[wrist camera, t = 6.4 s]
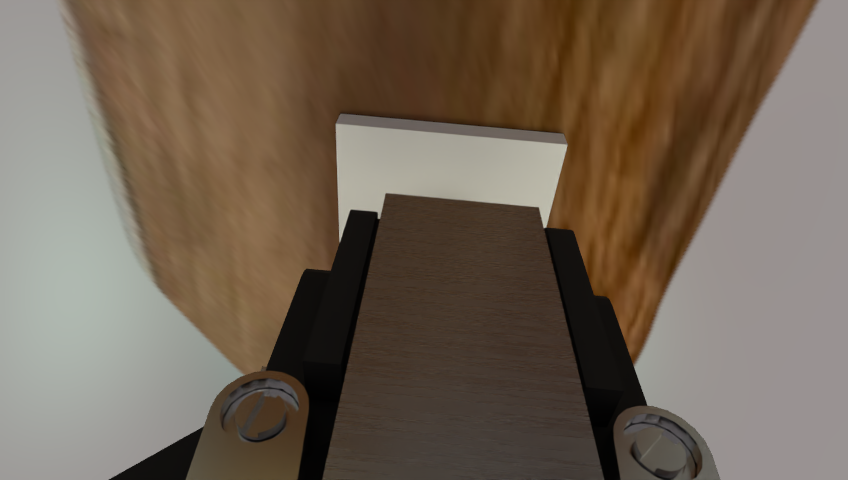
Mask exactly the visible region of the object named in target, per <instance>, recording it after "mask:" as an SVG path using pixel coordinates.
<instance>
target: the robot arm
mask: <svg viewBox="0 0 848 480" xmlns="http://www.w3.org/2000/svg"><path fill="white" fill-rule="evenodd" d="M379 221H380V219H378V212H374V211H363V210H352V209H351V210H350V212H349V215H348V218H347V222H346V225H345V228H344V231H343V234H342V237H341V241H340V244H339V247H338V250H337V253H336V256H335V260H334V263H333V266H332V269H331V271H325V270H315V269H306V270H305V271H304V272H303V274H302V276H301V279H300V282H299V284H298V287H297V289H296V292H295V295H294V297H293V300H292V302H291V305H290V308H289V310H288V313H287V316H286V318H285V321H284V323H283V326H282V329H281V331H280V334H279V336H278V339H277V342H276V344H275V347H274V349H273V352H272V355H271V357H270V360H269V363H268V365H267V368H266V370H265V371H260V372H254V373H251V374H248V375H245V376H242V377H240V378H238V379H236V380H235V381H233V382H231V383H230V384H228V385H227V386H226V387H225V388H224V389H223V390H222V391H221V392H220V393H219V394H218V395H217V397H216V398H215V401H214V402H213V404H212V406H211V408H210V411H209V413H208V416H207V419H206V422H205V425H204V427H202V428H200V429H199V430H197V431H195V432H193V433H191V434H190V435H188V436H186V437H184V438H182V439H181V440H179V441H177V442H175V443H173V444H172V445H170V446H168V447H166V448H164V449H163V450H161V451H159V452H157V453H156V454H154V455H152V456H150V457H148V458H147V459H145V460H143V461H141V462H140V463H138V464H136V465H134V466H132V467H131V468H129V469H127V470H125V471H124V472H122V473H120V474H118V475H117V476H115V477H113V478H111V479H109V480H322V478H323V474H324V469H325V465H326V460H327V456H328V451H329V447H330V442H331V438H332V433H333V429H334V424H335V420H336V415H337V411H338V406H339V402H340V397H341V393H342V388H343V384H344V379H345V374H346V370H347V365H348V361H349V356H350V352H351V347H352V343H353V338H354V334H355V329H356V325H357V320H358V316H359V311H360V307H361V302H362V298H363V293H364V289H365V284H366V280H367V275H368V271H369V266H370V262H371V257H372V253H373V248H374V244H375V239H376V235H377V230H378V226H379ZM544 231H545V235H546V239H547V243H548V248H549V252H550V256H551V260H552V264H553V268H554V273H555V277H556V281H557V285H558V289H559V293H560V298H561V302H562V306H563V310H564V314H565V319H566V323H567V327H568V331H569V335H570V339H571V344H572V348H573V352H574V356H575V360H576V364H577V369H578V373H579V377H580V381H581V385H582V389H583V394H584V398H585V402H586V406H587V410H588V414H589V419H590V423H591V427H592V431H593V435H594V440H595V444H596V448H597V452H598V456H599V460H600V465H601V469H602V473H603V477H604V480H720V477H719V474H718V472H717V468H716V465H715V462H714V459H713V456H712V454H711V452H710V450H709V448H708V446H707V444H706V442H705V440H704V439H703V438H702V437H701V436H700V434H699V433H698V432H697V431H696V429H695V428H693V427H692V426H691V425H690V424H688V423H687V422H686V421H685V420H683V419H682V418H680V417H679V416H677V415H675V414H673V413H671V412H669V411H667V410H664V409H661V408H657V407H654V406H647V403H646V400H645V397H644V394H643V392H642V389H641V386H640V383H639V380H638V378H637V375H636V372H635V369H634V366H633V363H632V360H631V357H630V355H629V352H628V349H627V346H626V343H625V340H624V338H623V335H622V332H621V329H620V326H619V323H618V321H617V318H616V315H615V312H614V309H613V306H612V304H611V302H610V300H609V299H608V298H607V297H604V296H594V294H593V291H592V288H591V285H590V282H589V278H588V275H587V272H586V269H585V266H584V263H583V259H582V256H581V253H580V250H579V247H578V244H577V241H576V237H575V234H574V232H573V231H572V230H566V229H556V228H544Z"/></svg>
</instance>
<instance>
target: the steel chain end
mask: <svg viewBox="0 0 848 480" xmlns="http://www.w3.org/2000/svg"><path fill="white" fill-rule="evenodd" d="M266 368H267V367H263V366H262V369H261V371H265V370H266ZM322 480H604V477H603V473H602V469H601V465H600V460H599V456H598V452H597V448H596V444H595V440H594V435H593V431H592V427H591V423H590V419H589V414H588V410H587V406H586V402H585V398H584V394H583V389H582V385H581V381H580V377H579V373H578V369H577V364H576V360H575V356H574V352H573V348H572V344H571V339H570V335H569V331H568V327H567V323H566V319H565V314H564V310H563V306H562V302H561V298H560V293H559V289H558V285H557V281H556V277H555V273H554V268H553V264H552V260H551V256H550V252H549V248H548V243H547V239H546V235H545V231H544V227H543V223H542V218H541V214H540V210H539V207H530V206H519V205H509V204H498V203H487V202H477V201H466V200H455V199H445V198H434V197H423V196H412V195H402V194H391V193H386V194H385V199H384V203H383V208H382V212H381V217H380V221H379V226H378V230H377V235H376V239H375V244H374V248H373V253H372V257H371V262H370V266H369V271H368V275H367V280H366V284H365V289H364V293H363V298H362V302H361V307H360V311H359V316H358V320H357V325H356V329H355V334H354V338H353V343H352V347H351V352H350V356H349V361H348V365H347V370H346V374H345V379H344V384H343V388H342V393H341V397H340V402H339V406H338V411H337V415H336V420H335V424H334V429H333V433H332V438H331V442H330V447H329V451H328V456H327V460H326V465H325V469H324V474H323V478H322Z"/></svg>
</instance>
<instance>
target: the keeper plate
mask: <svg viewBox="0 0 848 480" xmlns="http://www.w3.org/2000/svg"><path fill="white" fill-rule="evenodd" d="M567 145H568V144H567V142H566V139H565V136H564V134H560V133H549V132H538V131H527V130H516V129H505V128H494V127H483V126H472V125H461V124H450V123H439V122H428V121H417V120H406V119H395V118H384V117H373V116H362V115H351V114H340V116H339V118H338V120H337V122H336V148H337V179H338V210H339V241H341V237H342V234H343V231H344V228H345V225H346V222H347V218H348V215H349V212H350V210H351V209H352V210H363V211H374V212H378V219H380V217H381V212H382V208H383V203H384V199H385V194H386V193H391V194H402V195H412V196H423V197H434V198H445V199H455V200H466V201H477V202H487V203H498V204H509V205H519V206H530V207H539V210H540V214H541V218H542V223H543V227H544V228H546V226H547V222H548V218H549V214H550V210H551V207H552V203H553V199H554V195H555V191H556V187H557V184H558V180H559V176H560V172H561V168H562V164H563V161H564V157H565V153H566V149H567Z"/></svg>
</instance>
